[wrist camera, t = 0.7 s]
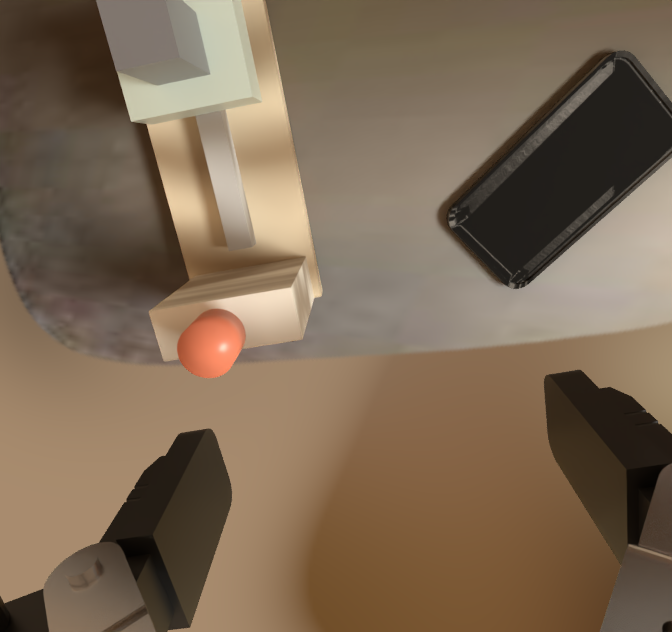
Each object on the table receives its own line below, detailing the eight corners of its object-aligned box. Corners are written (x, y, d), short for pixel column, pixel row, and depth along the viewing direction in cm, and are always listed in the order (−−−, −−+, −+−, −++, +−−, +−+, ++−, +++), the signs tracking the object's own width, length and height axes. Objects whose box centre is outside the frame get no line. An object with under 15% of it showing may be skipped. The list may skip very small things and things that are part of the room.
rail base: (115, -21, 31) (11, -96, 22) (255, -53, 31) (209, -146, 21) (205, 310, 38) (155, 362, 28) (322, 291, 37) (311, 338, 28)
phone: (441, 219, 35) (623, 41, 31) (438, 217, 36) (614, 45, 32) (516, 296, 36) (698, 136, 32) (511, 292, 37) (687, 136, 33)
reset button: (186, 313, 26) (170, 328, 24) (238, 304, 26) (227, 319, 23) (200, 362, 27) (185, 381, 25) (251, 354, 27) (241, 373, 24)
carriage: (122, 15, 29) (39, -34, 22) (239, -11, 29) (196, -71, 21) (151, 124, 31) (85, 115, 23) (262, 102, 30) (231, 84, 23)
